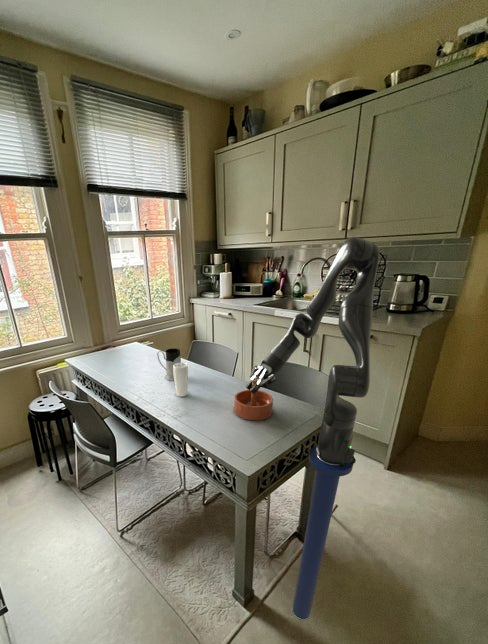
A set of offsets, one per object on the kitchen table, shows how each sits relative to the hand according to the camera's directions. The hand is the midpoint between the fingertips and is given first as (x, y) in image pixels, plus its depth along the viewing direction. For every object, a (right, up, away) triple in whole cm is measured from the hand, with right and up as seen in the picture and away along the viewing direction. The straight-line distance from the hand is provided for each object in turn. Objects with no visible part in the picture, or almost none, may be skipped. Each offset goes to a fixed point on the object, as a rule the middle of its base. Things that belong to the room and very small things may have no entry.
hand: (249, 390), depth 129 cm
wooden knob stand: (+2, -8, +5) cm, 10 cm away
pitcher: (-35, +7, +42) cm, 55 cm away
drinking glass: (-28, -3, +22) cm, 36 cm away
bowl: (+2, -9, +5) cm, 11 cm away
